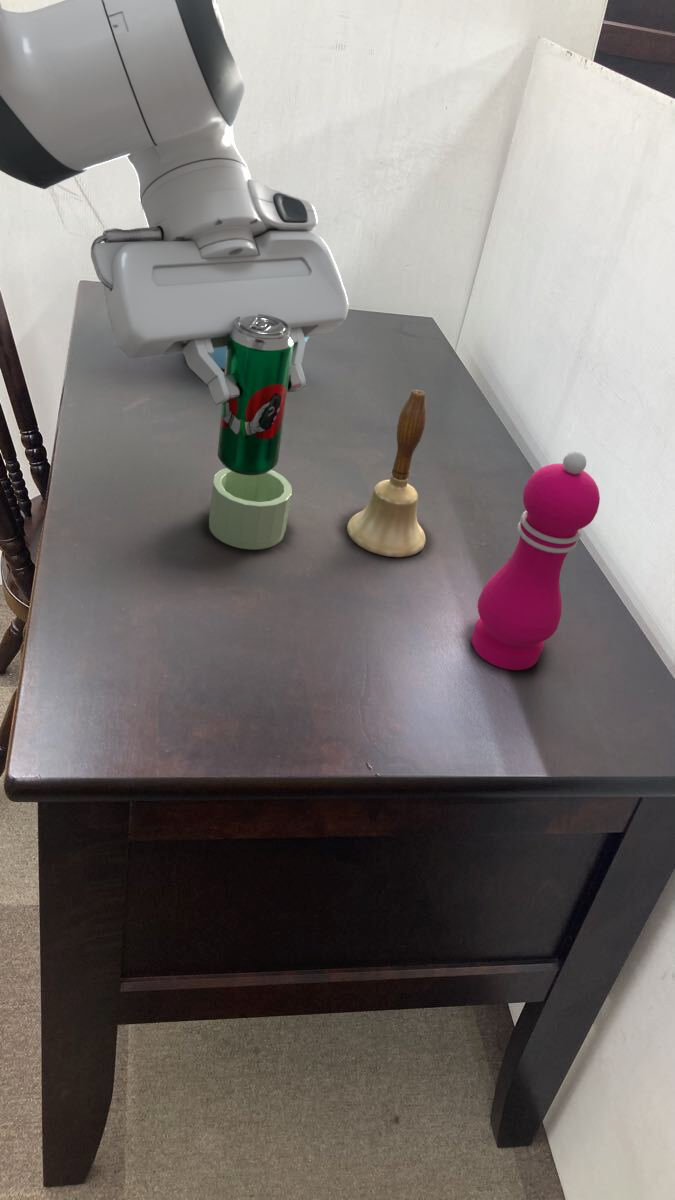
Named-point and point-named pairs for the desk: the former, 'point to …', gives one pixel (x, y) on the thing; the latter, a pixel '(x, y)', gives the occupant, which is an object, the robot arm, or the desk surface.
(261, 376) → the soda can
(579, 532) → the pepper mill
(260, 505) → the socket
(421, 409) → the hand bell
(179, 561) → the desk surface
